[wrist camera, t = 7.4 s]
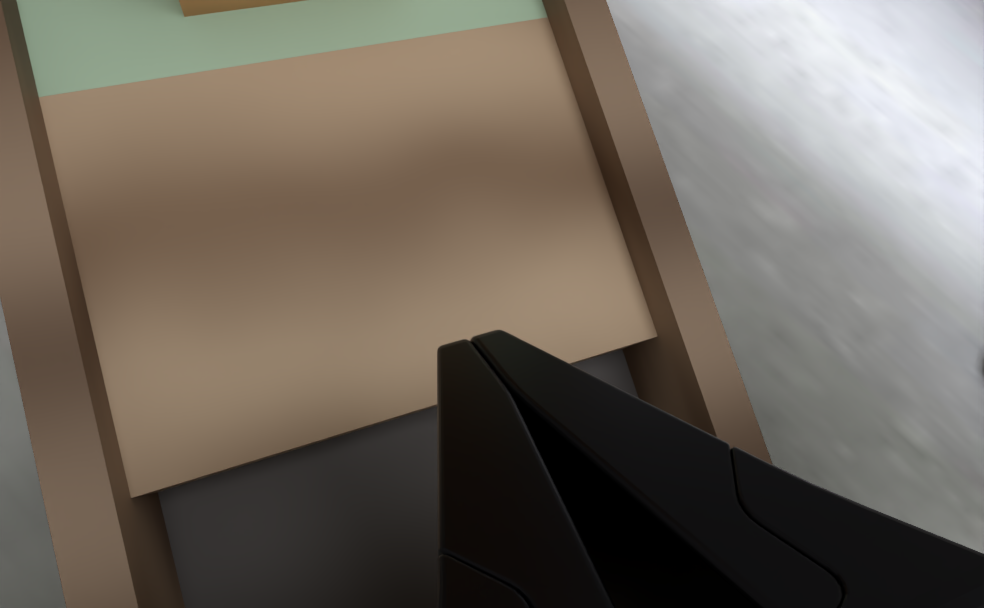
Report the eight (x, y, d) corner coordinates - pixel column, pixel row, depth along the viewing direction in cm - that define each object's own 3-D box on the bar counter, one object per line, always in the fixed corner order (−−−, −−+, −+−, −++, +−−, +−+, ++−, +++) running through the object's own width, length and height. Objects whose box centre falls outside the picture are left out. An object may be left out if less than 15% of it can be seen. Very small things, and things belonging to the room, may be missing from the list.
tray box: (726, 569, 17) (856, 608, 13) (180, 802, 14) (111, 960, 10) (393, -401, 21) (409, -616, 17) (-95, -411, 18) (-230, -684, 14)
